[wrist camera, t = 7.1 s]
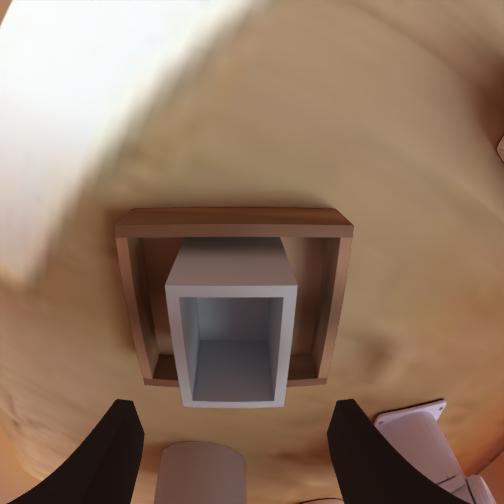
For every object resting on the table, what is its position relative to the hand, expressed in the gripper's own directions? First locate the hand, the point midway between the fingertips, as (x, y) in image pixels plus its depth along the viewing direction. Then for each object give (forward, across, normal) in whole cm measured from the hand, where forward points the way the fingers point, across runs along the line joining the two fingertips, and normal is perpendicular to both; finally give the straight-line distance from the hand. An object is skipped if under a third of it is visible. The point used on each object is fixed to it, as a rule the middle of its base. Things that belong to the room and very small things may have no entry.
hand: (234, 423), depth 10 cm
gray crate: (+9, 0, 0) cm, 9 cm away
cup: (+10, +4, +20) cm, 23 cm away
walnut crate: (+10, 0, 0) cm, 10 cm away
